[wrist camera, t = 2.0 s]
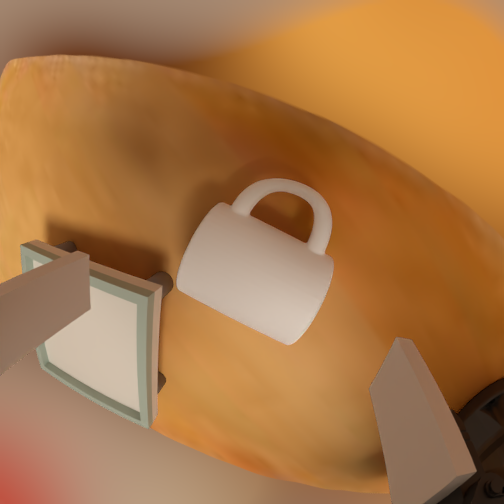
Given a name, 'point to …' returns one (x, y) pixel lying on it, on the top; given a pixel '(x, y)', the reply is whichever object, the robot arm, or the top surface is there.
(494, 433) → the robot arm
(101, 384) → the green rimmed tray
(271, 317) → the mug
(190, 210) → the top surface
